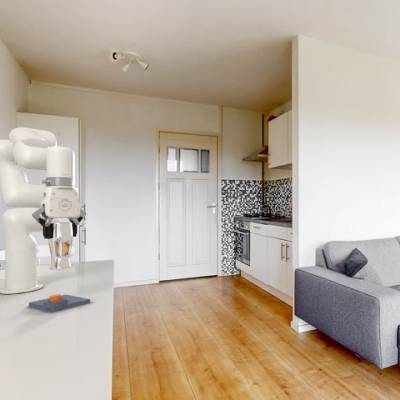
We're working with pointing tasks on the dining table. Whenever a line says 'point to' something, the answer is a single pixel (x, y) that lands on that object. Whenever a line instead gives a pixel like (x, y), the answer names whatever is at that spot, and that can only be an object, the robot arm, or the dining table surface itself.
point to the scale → (59, 303)
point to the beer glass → (61, 245)
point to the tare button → (55, 298)
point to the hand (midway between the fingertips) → (60, 237)
